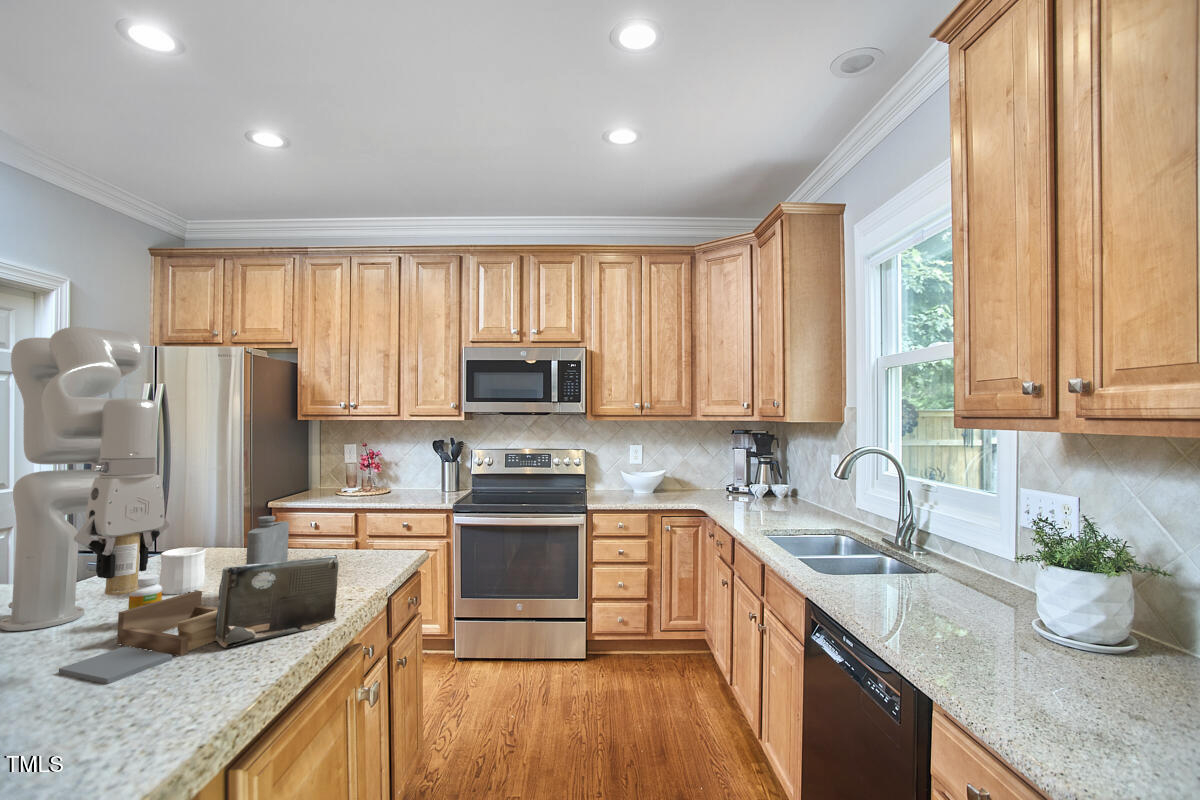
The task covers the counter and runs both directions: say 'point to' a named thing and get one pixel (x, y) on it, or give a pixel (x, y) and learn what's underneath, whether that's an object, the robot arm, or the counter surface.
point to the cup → (182, 570)
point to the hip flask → (268, 542)
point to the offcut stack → (199, 629)
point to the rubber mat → (115, 664)
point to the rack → (160, 623)
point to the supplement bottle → (146, 591)
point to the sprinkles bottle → (125, 565)
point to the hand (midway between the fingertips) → (122, 572)
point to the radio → (275, 599)
